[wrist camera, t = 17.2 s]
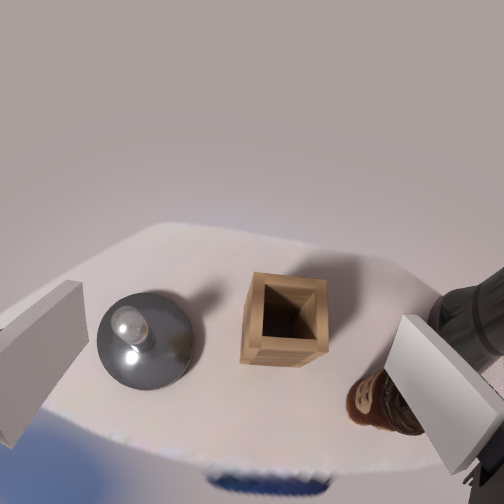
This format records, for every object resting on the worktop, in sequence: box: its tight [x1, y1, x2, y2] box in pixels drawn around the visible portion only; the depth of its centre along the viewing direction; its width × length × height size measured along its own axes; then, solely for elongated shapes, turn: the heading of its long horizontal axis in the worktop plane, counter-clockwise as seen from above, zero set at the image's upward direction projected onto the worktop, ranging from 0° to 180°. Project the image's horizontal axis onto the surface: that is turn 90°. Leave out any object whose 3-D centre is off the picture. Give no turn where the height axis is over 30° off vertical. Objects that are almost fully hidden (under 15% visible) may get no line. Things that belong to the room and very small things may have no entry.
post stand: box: [97, 293, 194, 391], centre depth 30 cm, size 12×12×9 cm
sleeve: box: [240, 272, 329, 367], centre depth 32 cm, size 7×7×10 cm
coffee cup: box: [346, 368, 425, 436], centre depth 28 cm, size 9×8×13 cm
